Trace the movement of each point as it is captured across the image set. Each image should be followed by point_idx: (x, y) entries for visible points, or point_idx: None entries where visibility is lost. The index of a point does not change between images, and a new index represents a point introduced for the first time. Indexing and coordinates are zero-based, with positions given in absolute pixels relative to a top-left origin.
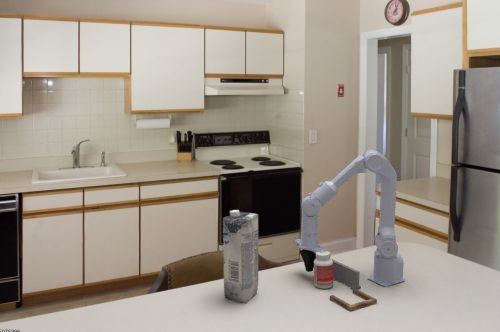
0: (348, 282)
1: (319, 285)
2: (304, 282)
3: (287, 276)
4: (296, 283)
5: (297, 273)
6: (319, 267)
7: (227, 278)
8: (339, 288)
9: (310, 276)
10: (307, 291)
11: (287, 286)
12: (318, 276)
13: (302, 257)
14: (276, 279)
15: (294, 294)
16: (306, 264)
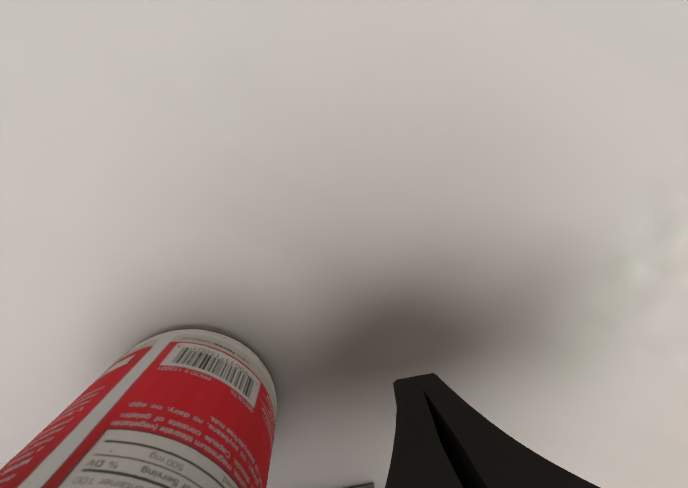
0: None
1: (127, 352)
2: (325, 279)
3: (516, 195)
4: (330, 201)
5: (533, 310)
6: None
7: None
8: None
9: None
10: (121, 213)
11: (293, 80)
12: (74, 406)
13: (556, 476)
14: (501, 51)
15: (79, 55)
16: (427, 428)
